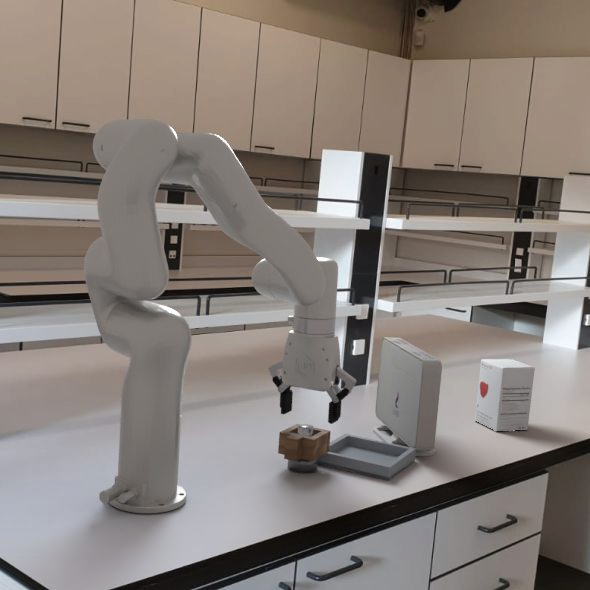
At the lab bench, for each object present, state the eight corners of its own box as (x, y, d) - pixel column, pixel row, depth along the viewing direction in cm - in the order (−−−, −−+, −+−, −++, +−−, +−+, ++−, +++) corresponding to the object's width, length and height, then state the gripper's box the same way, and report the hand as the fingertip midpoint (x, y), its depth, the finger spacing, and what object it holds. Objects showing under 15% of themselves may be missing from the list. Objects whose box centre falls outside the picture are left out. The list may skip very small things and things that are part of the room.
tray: (388, 480, 157) (390, 467, 156) (314, 463, 163) (315, 450, 163) (414, 461, 169) (415, 448, 169) (344, 445, 176) (345, 433, 176)
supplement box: (473, 421, 202) (479, 358, 200) (505, 420, 205) (511, 358, 203) (495, 432, 194) (502, 367, 192) (528, 431, 197) (536, 366, 195)
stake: (309, 475, 156) (312, 432, 155) (282, 468, 159) (285, 426, 158) (322, 467, 161) (326, 425, 160) (296, 461, 164) (299, 420, 163)
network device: (364, 423, 193) (372, 335, 191) (401, 424, 195) (409, 336, 193) (404, 461, 168) (413, 360, 166) (446, 461, 171) (455, 361, 168)
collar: (307, 464, 153) (309, 442, 153) (272, 456, 156) (274, 434, 156) (328, 451, 161) (330, 430, 161) (295, 444, 164) (297, 423, 164)
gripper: (262, 322, 157) (258, 413, 160) (349, 335, 150) (344, 430, 152) (281, 317, 164) (277, 404, 167) (366, 328, 156) (360, 420, 159)
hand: (309, 417), depth 159 cm, fingers open, 9 cm apart
